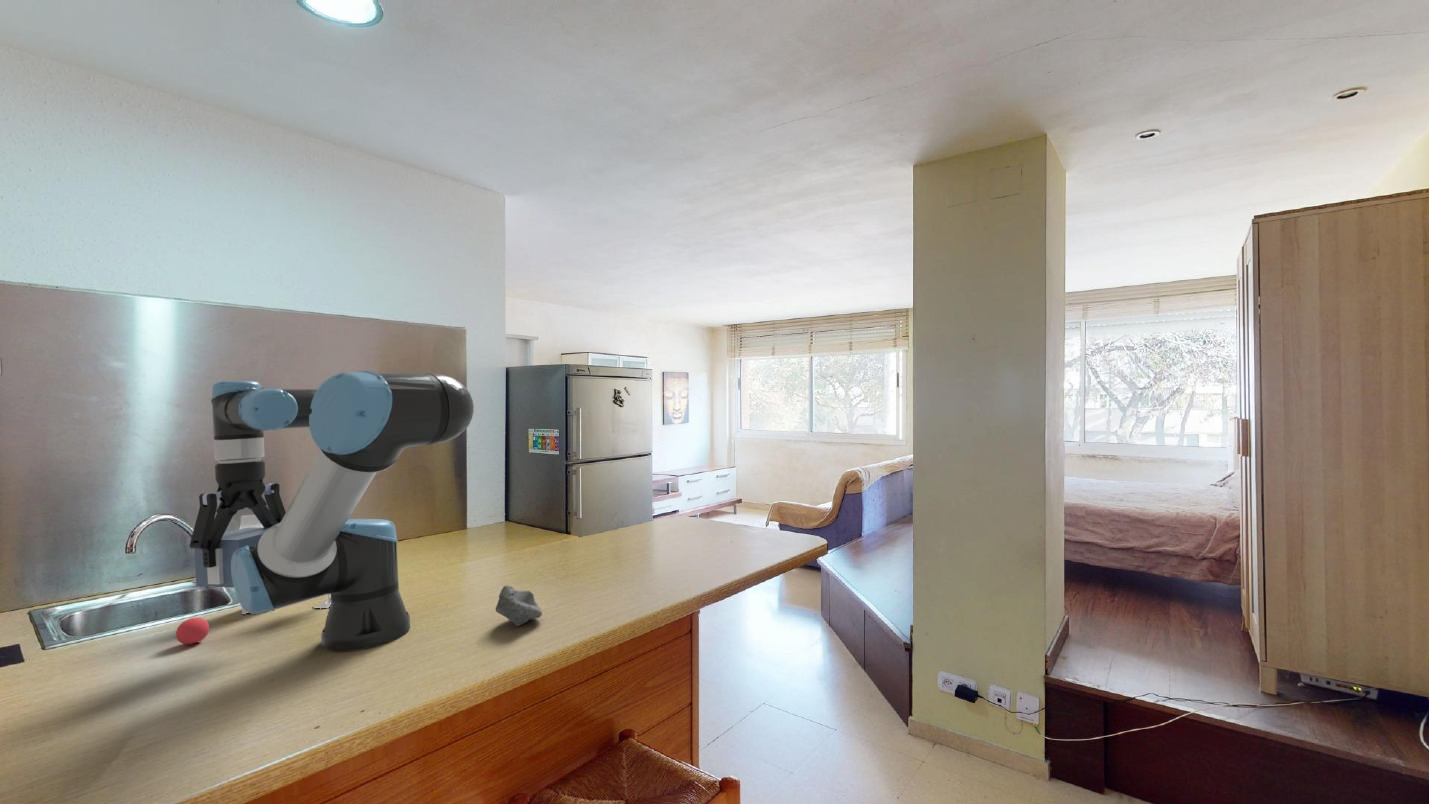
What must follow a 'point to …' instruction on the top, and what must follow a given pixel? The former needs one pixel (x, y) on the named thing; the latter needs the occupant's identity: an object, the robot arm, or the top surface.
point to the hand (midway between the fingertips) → (245, 574)
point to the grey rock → (517, 605)
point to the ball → (192, 630)
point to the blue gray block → (227, 554)
